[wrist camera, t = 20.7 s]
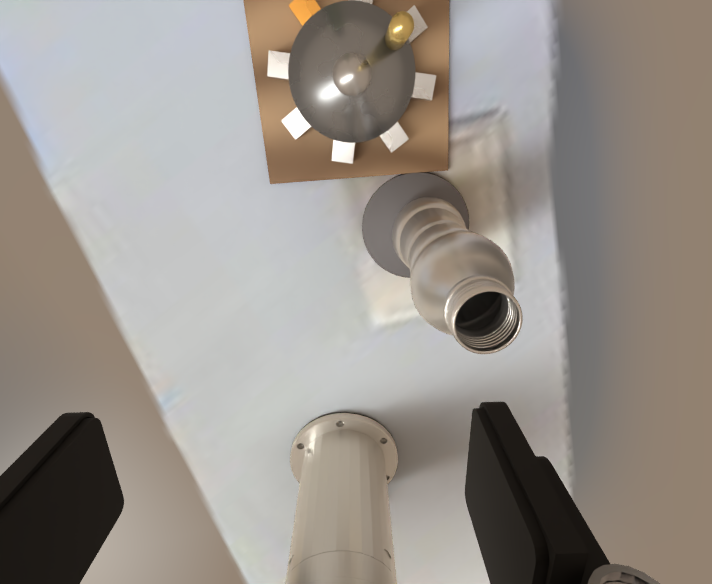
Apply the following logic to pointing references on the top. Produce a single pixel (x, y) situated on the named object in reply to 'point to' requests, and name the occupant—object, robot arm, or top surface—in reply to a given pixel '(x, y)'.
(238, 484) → the top surface
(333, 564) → the robot arm
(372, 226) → the pad
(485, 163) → the top surface
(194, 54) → the top surface
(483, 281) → the plastic bottle
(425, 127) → the base plate
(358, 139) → the sprocket
